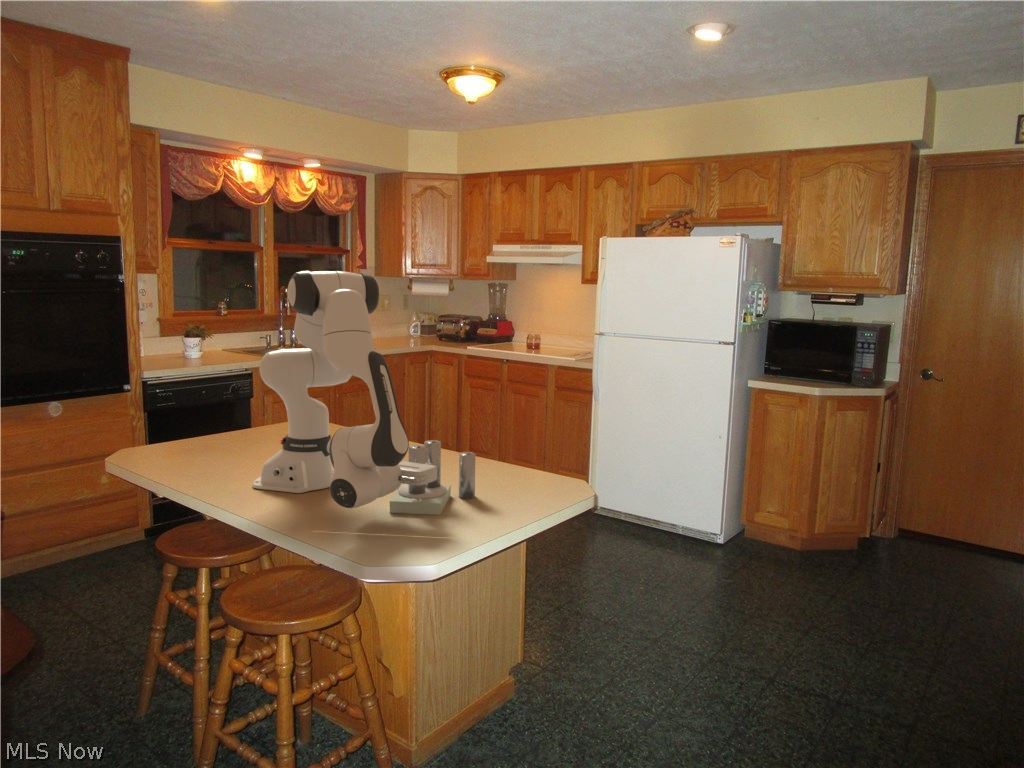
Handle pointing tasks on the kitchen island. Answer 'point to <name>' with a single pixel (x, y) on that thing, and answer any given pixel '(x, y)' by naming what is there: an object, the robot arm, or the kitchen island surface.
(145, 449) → the kitchen island surface
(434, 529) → the kitchen island surface
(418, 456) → the cylinder
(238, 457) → the kitchen island surface
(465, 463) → the cylinder
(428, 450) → the cylinder
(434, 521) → the kitchen island surface
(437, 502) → the scale
